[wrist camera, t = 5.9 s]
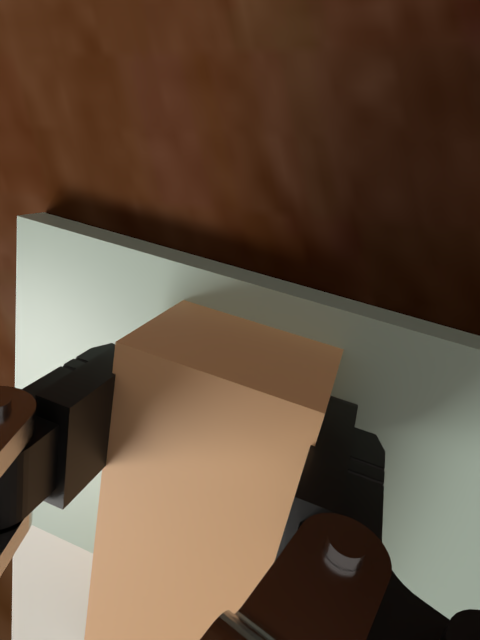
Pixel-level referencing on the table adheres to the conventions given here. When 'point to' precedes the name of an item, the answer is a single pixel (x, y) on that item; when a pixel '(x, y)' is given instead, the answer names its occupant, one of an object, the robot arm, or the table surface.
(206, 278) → the two-tone mat
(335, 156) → the table surface
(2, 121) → the table surface
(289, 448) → the tan wooden plank
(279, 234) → the table surface
